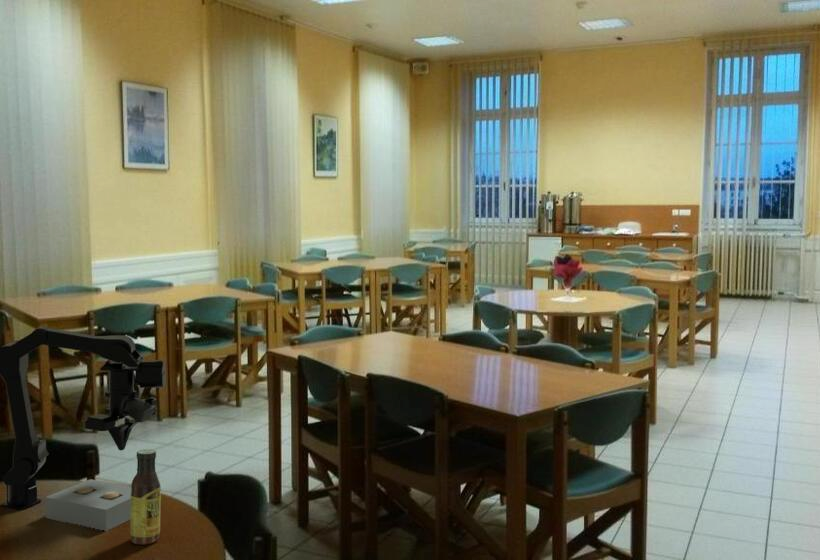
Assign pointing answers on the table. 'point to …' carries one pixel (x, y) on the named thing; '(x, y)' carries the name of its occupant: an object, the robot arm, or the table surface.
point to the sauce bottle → (145, 500)
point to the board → (91, 505)
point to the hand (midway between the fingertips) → (121, 449)
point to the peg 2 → (111, 495)
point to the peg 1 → (84, 490)
